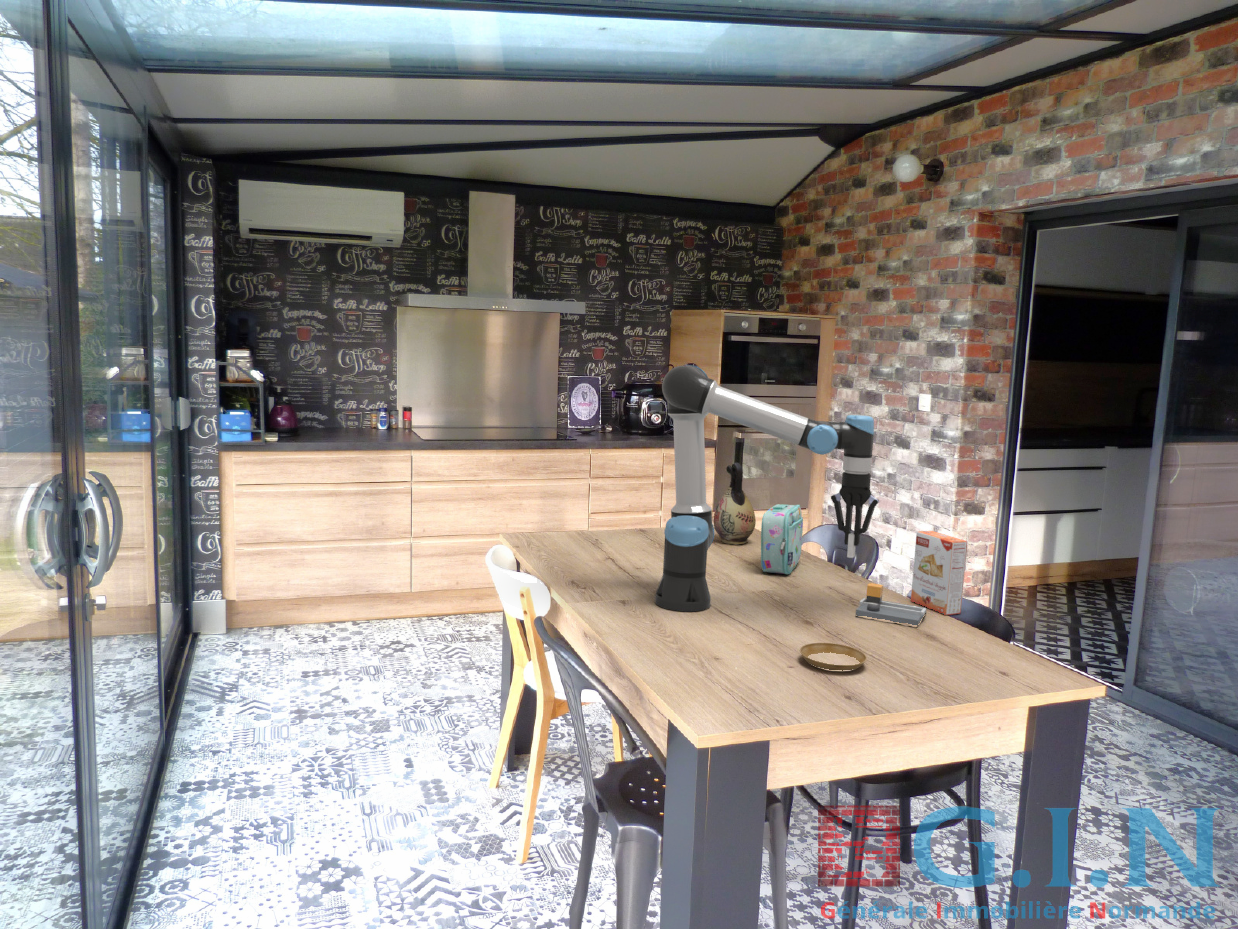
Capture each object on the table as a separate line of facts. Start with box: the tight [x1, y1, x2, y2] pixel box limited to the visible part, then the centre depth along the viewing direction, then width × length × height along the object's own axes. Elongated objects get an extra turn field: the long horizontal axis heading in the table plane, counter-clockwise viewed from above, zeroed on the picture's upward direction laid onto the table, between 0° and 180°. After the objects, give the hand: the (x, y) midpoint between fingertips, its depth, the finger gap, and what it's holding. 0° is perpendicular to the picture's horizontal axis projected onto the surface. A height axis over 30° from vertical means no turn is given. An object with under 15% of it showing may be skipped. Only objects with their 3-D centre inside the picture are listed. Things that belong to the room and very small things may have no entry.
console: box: [855, 597, 928, 627], centre depth 238 cm, size 14×17×4 cm
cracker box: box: [910, 530, 968, 616], centre depth 247 cm, size 14×6×21 cm, turn 23°
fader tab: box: [866, 582, 884, 605], centre depth 241 cm, size 3×4×5 cm
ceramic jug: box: [712, 462, 756, 546], centre depth 321 cm, size 17×15×30 cm
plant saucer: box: [799, 642, 868, 671], centre depth 199 cm, size 15×15×3 cm
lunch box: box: [760, 503, 804, 575], centre depth 286 cm, size 27×10×21 cm, turn 160°
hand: (850, 556), depth 243 cm, fingers closed
